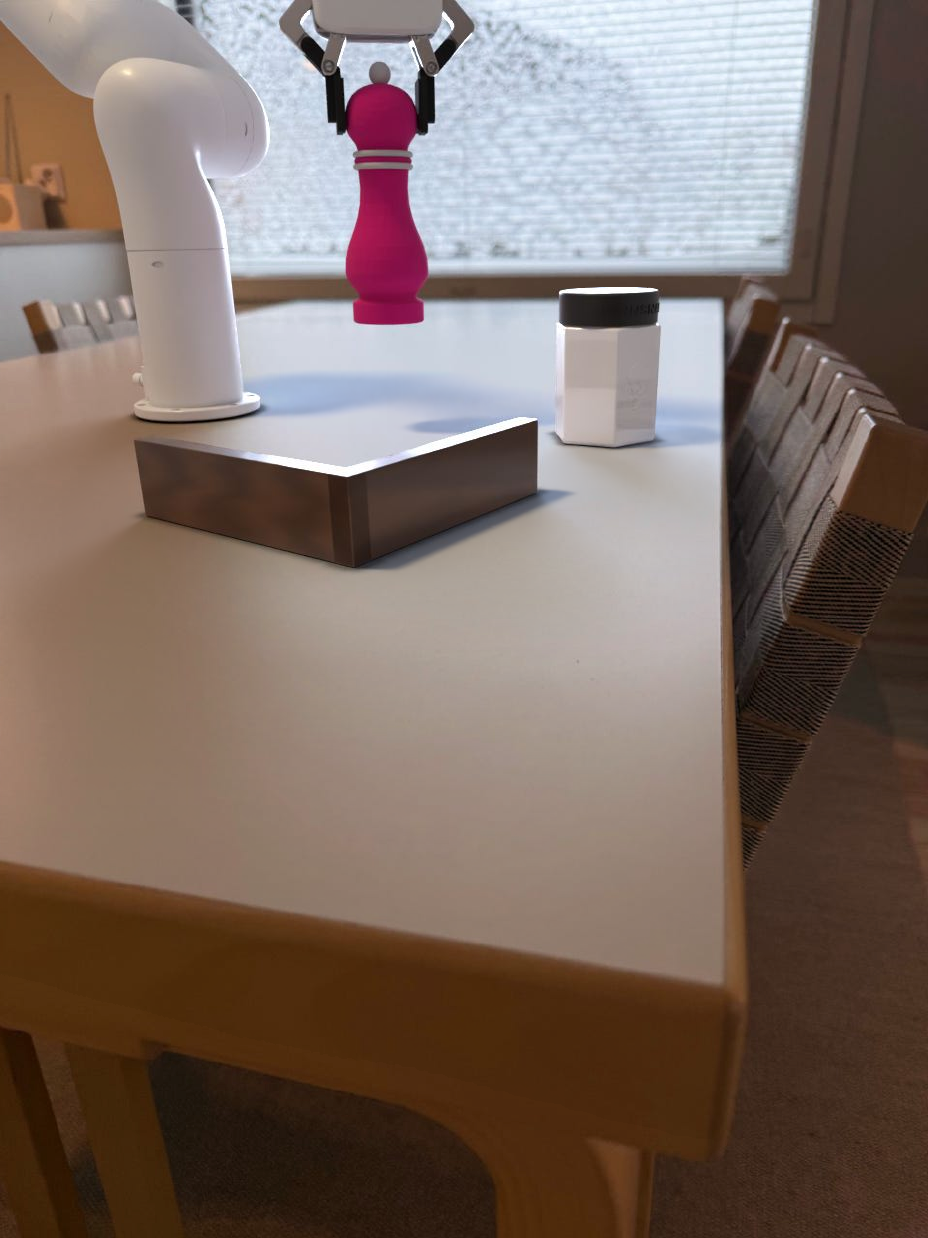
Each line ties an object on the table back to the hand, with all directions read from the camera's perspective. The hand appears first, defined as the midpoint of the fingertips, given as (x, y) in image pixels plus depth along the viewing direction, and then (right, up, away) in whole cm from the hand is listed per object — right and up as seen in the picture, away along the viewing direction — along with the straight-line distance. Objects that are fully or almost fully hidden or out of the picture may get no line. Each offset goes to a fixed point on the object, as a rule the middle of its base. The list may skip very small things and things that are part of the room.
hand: (381, 131), depth 76 cm
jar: (+19, -25, +4) cm, 31 cm away
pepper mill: (0, -14, +6) cm, 15 cm away
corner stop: (-1, -33, -14) cm, 35 cm away
